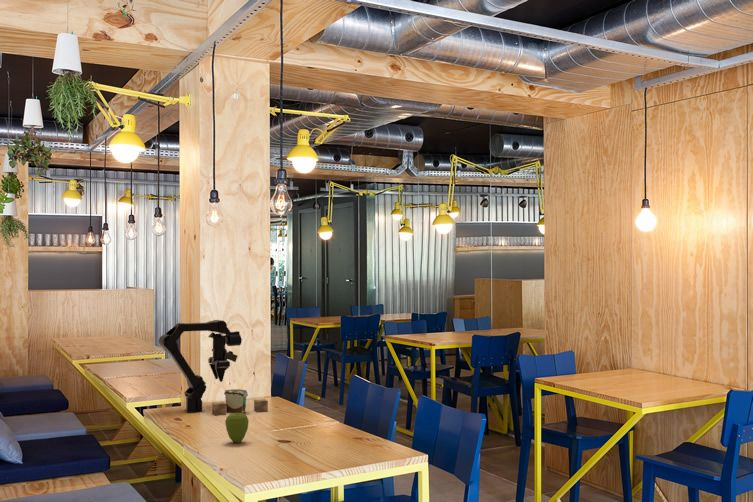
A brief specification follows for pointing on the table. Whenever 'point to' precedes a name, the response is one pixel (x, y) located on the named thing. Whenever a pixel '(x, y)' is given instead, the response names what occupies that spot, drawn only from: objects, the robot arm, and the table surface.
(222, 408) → the dotted block left
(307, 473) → the table surface
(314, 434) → the table surface
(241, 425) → the green tapered egg
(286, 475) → the table surface
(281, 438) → the table surface
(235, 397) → the food container
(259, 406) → the dotted block right
